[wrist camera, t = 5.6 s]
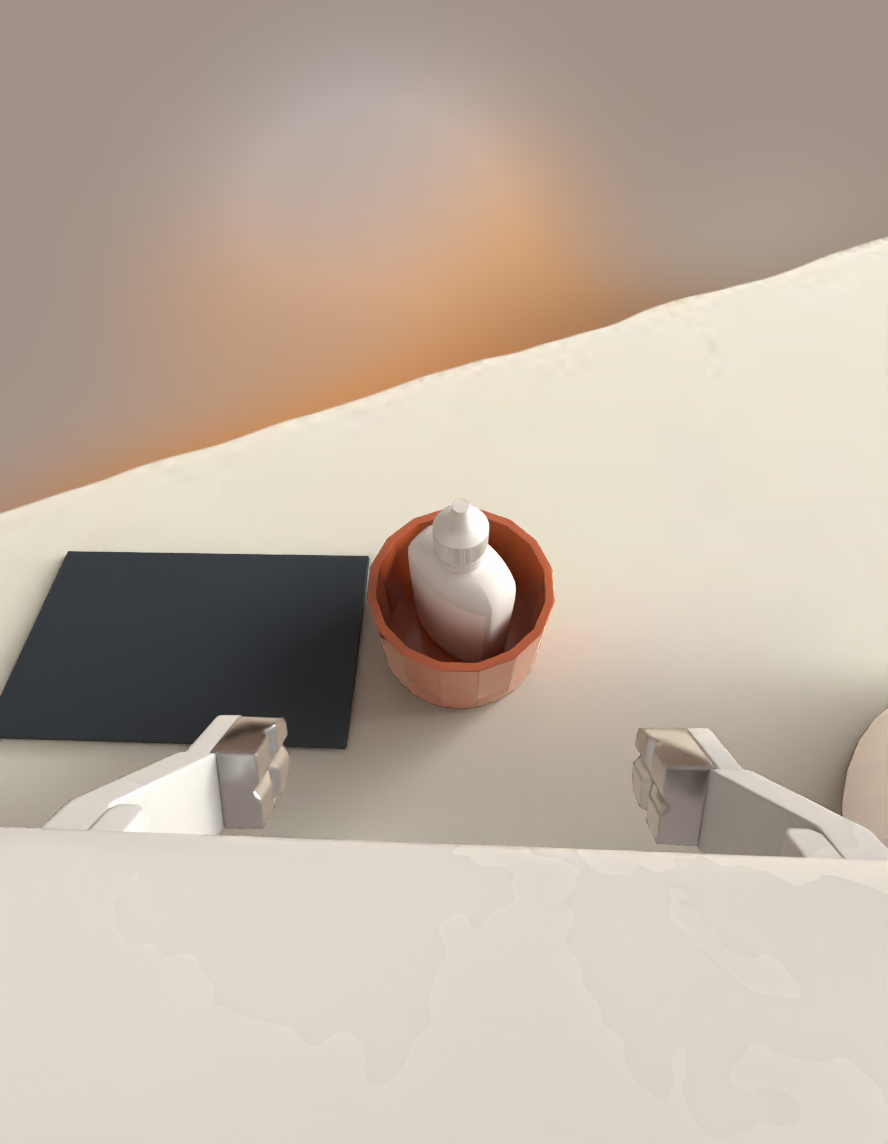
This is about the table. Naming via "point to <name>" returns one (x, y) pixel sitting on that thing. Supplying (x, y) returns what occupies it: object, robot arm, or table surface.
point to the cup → (427, 662)
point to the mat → (190, 647)
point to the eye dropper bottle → (461, 584)
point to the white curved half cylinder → (869, 781)
